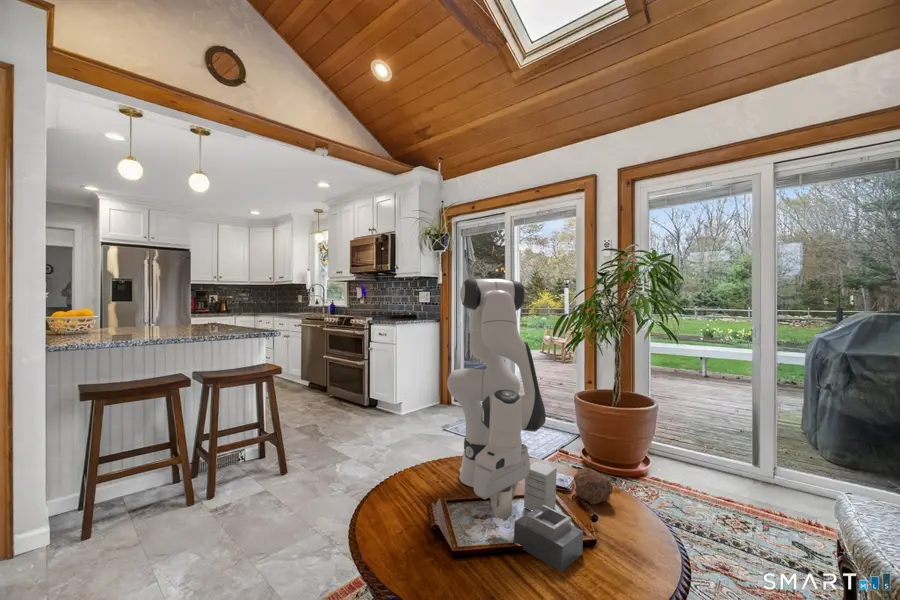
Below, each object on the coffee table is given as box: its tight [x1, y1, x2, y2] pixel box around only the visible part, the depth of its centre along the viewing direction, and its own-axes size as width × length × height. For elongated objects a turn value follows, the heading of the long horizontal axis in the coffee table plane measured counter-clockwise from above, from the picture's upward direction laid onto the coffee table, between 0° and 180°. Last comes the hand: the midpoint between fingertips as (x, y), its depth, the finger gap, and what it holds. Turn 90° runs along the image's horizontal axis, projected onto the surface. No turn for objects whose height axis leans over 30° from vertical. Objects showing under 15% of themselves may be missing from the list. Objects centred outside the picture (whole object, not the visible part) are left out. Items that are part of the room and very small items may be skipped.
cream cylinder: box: [492, 486, 513, 520], centre depth 107 cm, size 5×5×8 cm
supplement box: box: [523, 461, 557, 511], centre depth 122 cm, size 7×7×13 cm
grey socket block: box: [513, 505, 584, 573], centre depth 103 cm, size 13×14×8 cm
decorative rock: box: [573, 467, 614, 505], centre depth 129 cm, size 13×11×10 cm
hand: (502, 502), depth 107 cm, fingers closed on cream cylinder, 5 cm apart
